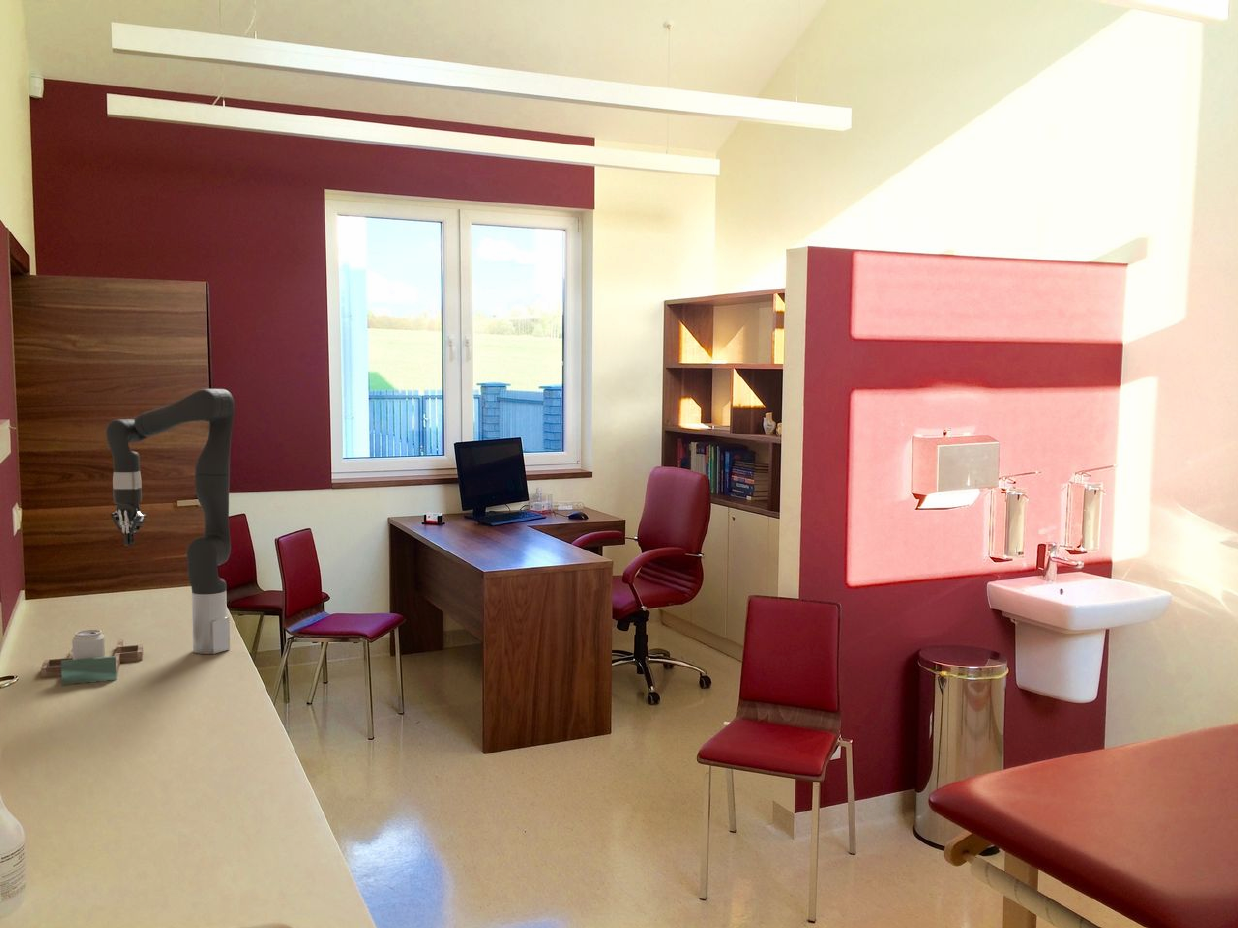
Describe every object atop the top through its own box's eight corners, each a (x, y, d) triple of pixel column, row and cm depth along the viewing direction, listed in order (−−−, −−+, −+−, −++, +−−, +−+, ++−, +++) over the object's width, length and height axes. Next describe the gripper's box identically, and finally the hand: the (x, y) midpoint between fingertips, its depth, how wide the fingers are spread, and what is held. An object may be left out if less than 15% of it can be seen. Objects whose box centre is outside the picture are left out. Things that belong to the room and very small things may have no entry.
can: (111, 672, 264) (110, 628, 263) (95, 681, 256) (93, 635, 256) (84, 672, 264) (82, 627, 263) (67, 680, 257) (65, 634, 256)
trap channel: (52, 653, 283) (51, 632, 282) (144, 645, 292) (143, 624, 292) (36, 687, 251) (35, 664, 250) (140, 677, 260) (139, 654, 260)
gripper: (100, 486, 292) (102, 545, 293) (131, 489, 286) (133, 548, 287) (123, 484, 299) (125, 541, 300) (154, 486, 293) (155, 545, 294)
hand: (129, 545), depth 294 cm, fingers closed
